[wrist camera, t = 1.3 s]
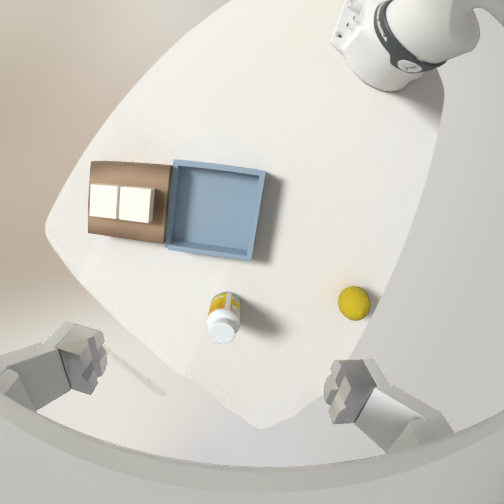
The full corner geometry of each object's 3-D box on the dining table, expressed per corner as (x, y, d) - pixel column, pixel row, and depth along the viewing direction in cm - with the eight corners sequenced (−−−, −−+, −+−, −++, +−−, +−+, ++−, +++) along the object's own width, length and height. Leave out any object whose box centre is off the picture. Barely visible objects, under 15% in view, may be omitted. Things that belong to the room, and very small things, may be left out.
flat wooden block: (102, 160, 41) (91, 161, 37) (176, 165, 42) (170, 166, 38) (98, 227, 45) (88, 232, 41) (169, 237, 46) (163, 243, 42)
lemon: (365, 286, 49) (382, 306, 42) (350, 309, 51) (364, 332, 43) (343, 275, 49) (359, 294, 41) (327, 299, 50) (340, 322, 42)
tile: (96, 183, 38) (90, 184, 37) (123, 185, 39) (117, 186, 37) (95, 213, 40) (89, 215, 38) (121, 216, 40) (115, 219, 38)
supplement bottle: (244, 294, 49) (244, 324, 40) (236, 319, 51) (234, 350, 42) (214, 287, 49) (208, 315, 40) (208, 312, 50) (201, 342, 41)
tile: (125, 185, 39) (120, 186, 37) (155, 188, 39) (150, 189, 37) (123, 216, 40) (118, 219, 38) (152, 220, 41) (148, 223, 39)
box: (177, 159, 42) (172, 159, 38) (264, 170, 43) (265, 171, 39) (169, 242, 46) (163, 248, 43) (250, 254, 47) (251, 261, 44)
